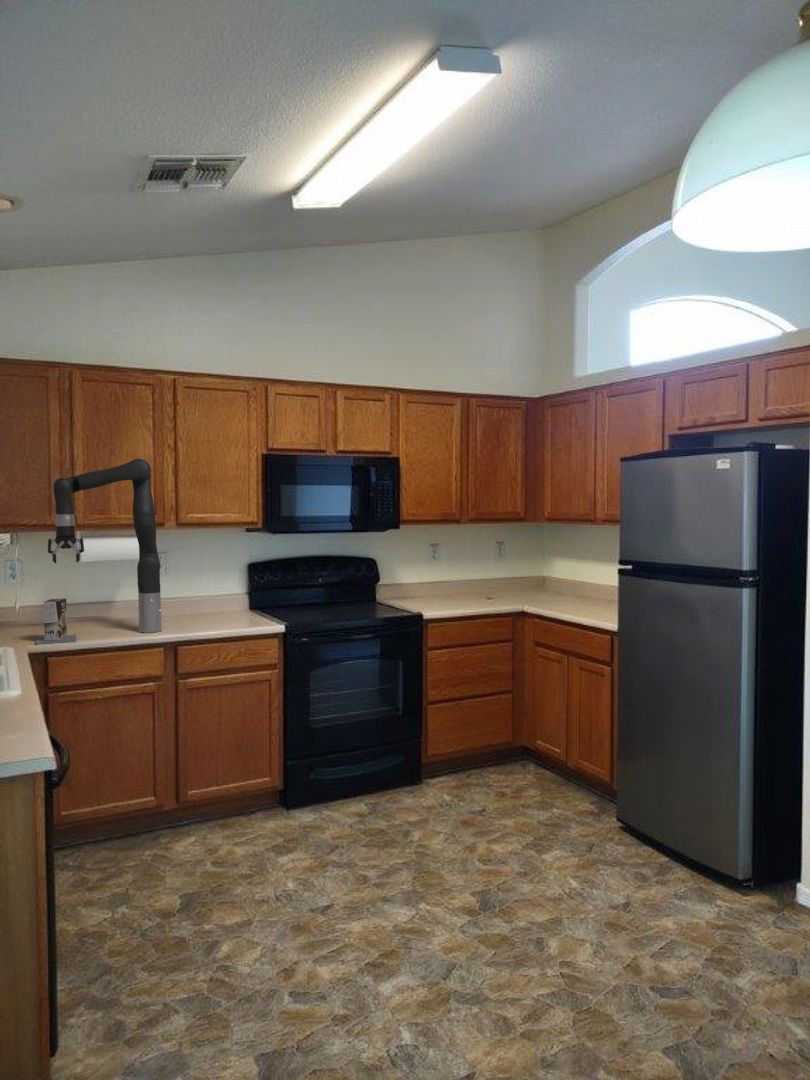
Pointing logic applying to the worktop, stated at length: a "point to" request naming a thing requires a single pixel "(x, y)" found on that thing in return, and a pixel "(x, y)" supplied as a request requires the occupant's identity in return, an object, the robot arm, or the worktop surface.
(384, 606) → the worktop surface
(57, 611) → the coffee box
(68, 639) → the mat
